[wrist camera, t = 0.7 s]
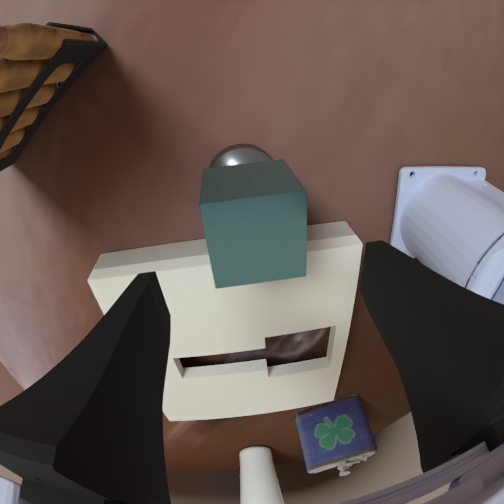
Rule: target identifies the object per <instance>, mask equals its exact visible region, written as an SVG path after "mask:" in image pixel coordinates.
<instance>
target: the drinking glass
mask: <svg viewBox="0 0 504 504" xmlns="http://www.w3.org/2000/svg"><path fill="white" fill-rule="evenodd" d="M239 457H240V492H241V493H240V497H241V498H240V501H241V502H240V503H241V504H284V502H283V497H282V494H281V490H280V487H279V483H278V479H277V475H276V472H275V468H274V464H273V460H272V454H271V450H270V449H269V448H268V447H265V446H252V447H248V448H245V449H243V450H241V451H240V453H239Z"/></svg>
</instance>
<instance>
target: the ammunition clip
mask: <svg viewBox="0 0 504 504" xmlns="http://www.w3.org/2000/svg"><path fill="white" fill-rule="evenodd" d="M106 47H107V44H106V43H105V42H104V41H103V40H102V39H101V38H100V37H99V35H98V34H97V33H96V32H95V31H94V30H93V29H92V28H86V27H80V26H74V25H67V24H59V23H52V22H48V23H47V24H46V25H39V24H32V23H19V24H15V25H0V171H2V170H3V169H5V168H7V167H8V166H10V165H12V164H13V163H15V161H16V159H17V158H18V156H19V155H20V153H21V151H22V150H23V148H24V147H25V145H26V144H27V142H28V141H29V139H30V138H31V136H32V135H33V133H34V132H35V130H36V129H37V128H38V126H39V125H40V123H41V122H42V121H43V119H44V118H45V116H46V115H47V114H48V112H49V111H50V110H51V109H52V107H53V106H54V105H55V103H56V102H57V101H58V100H59V98H60V97H61V96H62V95H63V93H64V92H65V91H66V90H67V89H68V87H69V86H70V85H71V84H72V83H73V82H74V80H75V79H76V78H77V77H78V76H79V75H80V74H81V73H82V72H83V70H84V69H85V68H86V67H87V66H88V65H89V64H90V63H91V62H92V61H93V60H94V59H95V58H96V57H97V56H98V55H99V54H100V53H101V52H102V51H103V50H104V49H105V48H106Z"/></svg>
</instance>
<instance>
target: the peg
mask: <svg viewBox="0 0 504 504" xmlns="http://www.w3.org/2000/svg"><path fill="white" fill-rule="evenodd" d="M199 206H200V212H201V217H202V223H203V228H204V233H205V238H206V243H207V248H208V254H209V259H210V263H211V268H212V273H213V278H214V283H215V288H216V289H218V288H226V287H233V286H241V285H248V284H256V283H263V282H270V281H277V280H284V279H291V278H298V277H305V276H306V268H307V191H306V190H305V188H304V187H303V186H302V184H301V183H300V181H299V180H298V179H297V177H296V176H295V175H294V173H293V172H292V170H291V169H290V168H289V166H288V165H287V164H286V162H285V161H284V159H283V160H272V158H271V157H270V156H269V155H268V154H267V153H266V152H265V151H264V150H262V149H261V148H259V147H256V146H253V145H249V144H237V145H233V146H230V147H228V148H225V149H224V150H222V151H221V152H220V153H218V154H217V155H216V156H215V158H214V159H213V160H212V162H211V164H210V166H209V168H207V169H204V171H203V179H202V186H201V194H200V202H199Z"/></svg>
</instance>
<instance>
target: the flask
mask: <svg viewBox="0 0 504 504" xmlns="http://www.w3.org/2000/svg"><path fill="white" fill-rule="evenodd" d="M296 423H297V427H298V431H299V436H300V440H301V444H302V449H303V453H304V458H305V463H306V468H307V472H308V473H317V472H321V471H323V470H326V469H330V468H333V467H336V466H338V468H337V469H339V470H340V476H344V475H347V474H349V473H350V471H349V468H350V467H351V466H352V464H353V463H359V462H360V461H356V460H360V459H362V460H364V461H366V460H367V457H369V456H371V455H373V454H375V453H376V452H377V445H376V443H375V440H374V436H373V433H372V431H371V428H370V425H369V422H368V419H367V416H366V413H365V410H364V407H363V405H362V402H361V399H360V398H359V396H358V395H357V394H356V395H349V396H346V397H343V398H339V399H335V400H333V401H330V402H328V403H326V404H322V405H319V406H316V407H313V408H311V409H308V410H305V411H303V412H301V413H299V414H297V415H296Z"/></svg>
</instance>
